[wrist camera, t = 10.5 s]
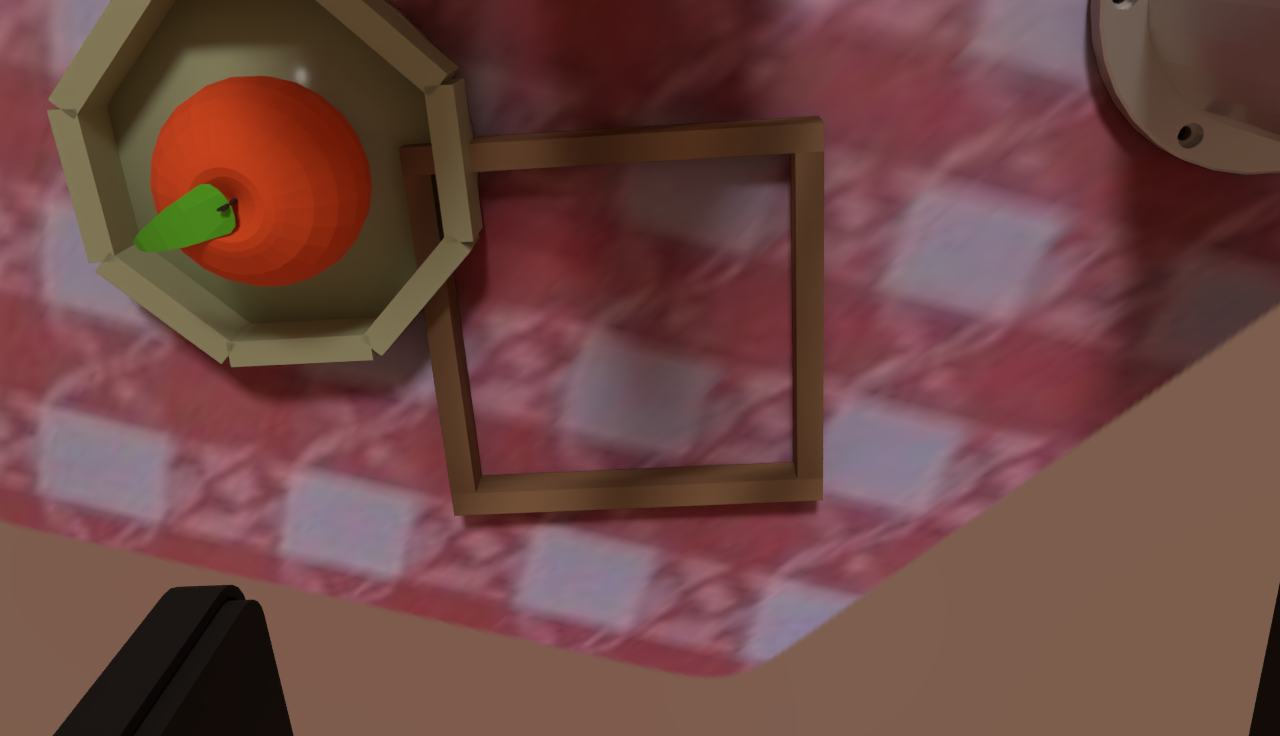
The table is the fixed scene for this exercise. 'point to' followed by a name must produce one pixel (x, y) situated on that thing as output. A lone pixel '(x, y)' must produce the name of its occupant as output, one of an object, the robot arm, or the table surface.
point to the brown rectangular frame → (650, 483)
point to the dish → (319, 60)
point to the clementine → (258, 182)
